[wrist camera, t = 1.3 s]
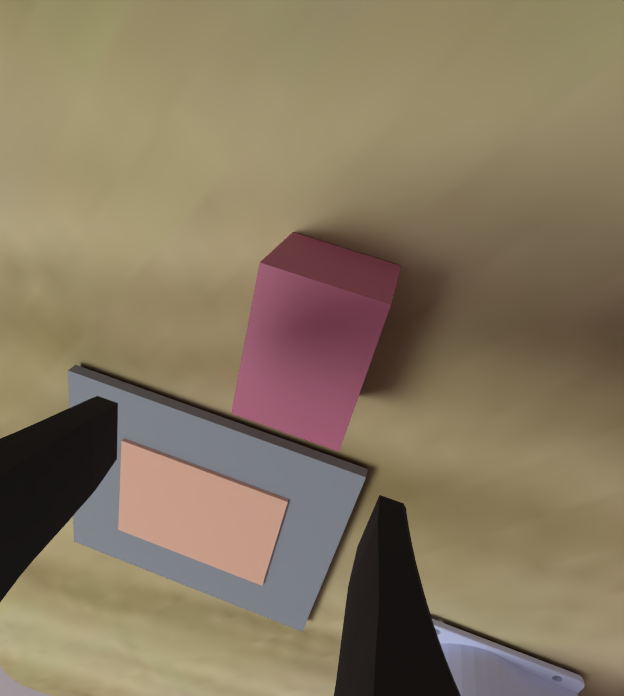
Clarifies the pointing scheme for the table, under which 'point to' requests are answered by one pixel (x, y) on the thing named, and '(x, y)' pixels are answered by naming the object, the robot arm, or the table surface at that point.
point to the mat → (215, 502)
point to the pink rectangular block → (312, 337)
